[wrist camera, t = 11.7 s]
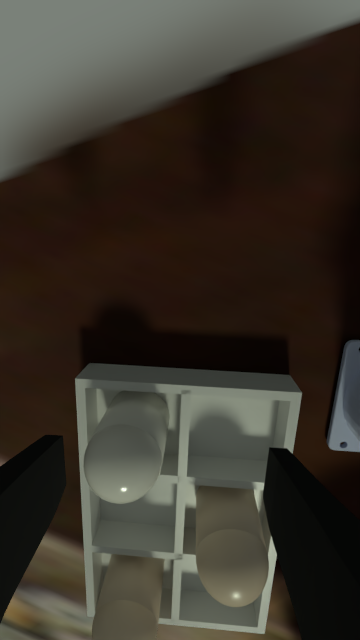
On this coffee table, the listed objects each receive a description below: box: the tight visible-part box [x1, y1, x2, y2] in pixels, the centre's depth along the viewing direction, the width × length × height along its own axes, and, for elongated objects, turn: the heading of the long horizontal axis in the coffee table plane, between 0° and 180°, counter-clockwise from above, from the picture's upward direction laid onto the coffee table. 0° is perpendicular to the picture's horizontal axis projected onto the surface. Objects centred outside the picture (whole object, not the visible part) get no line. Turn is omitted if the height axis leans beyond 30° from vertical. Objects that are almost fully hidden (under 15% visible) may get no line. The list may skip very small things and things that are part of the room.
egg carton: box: [75, 363, 302, 640], centre depth 20 cm, size 14×20×7 cm
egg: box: [84, 390, 170, 504], centre depth 18 cm, size 4×4×7 cm
